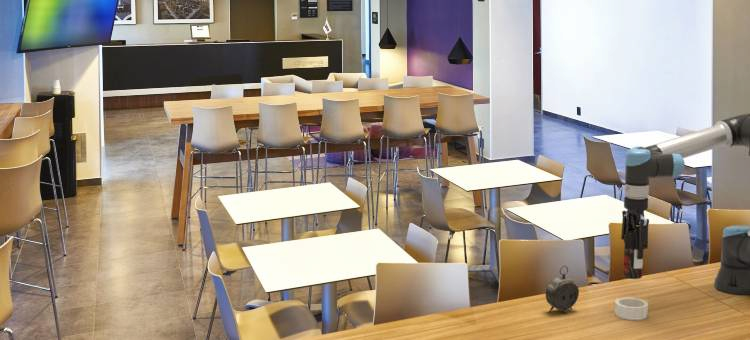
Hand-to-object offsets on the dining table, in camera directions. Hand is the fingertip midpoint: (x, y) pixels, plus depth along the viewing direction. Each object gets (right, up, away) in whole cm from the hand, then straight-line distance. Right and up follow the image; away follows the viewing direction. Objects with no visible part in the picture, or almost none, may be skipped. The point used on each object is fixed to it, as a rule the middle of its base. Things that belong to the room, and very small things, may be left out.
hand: (633, 264), depth 290 cm
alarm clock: (-22, -17, +7) cm, 28 cm away
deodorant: (0, -4, +1) cm, 4 cm away
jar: (0, -17, +3) cm, 17 cm away
